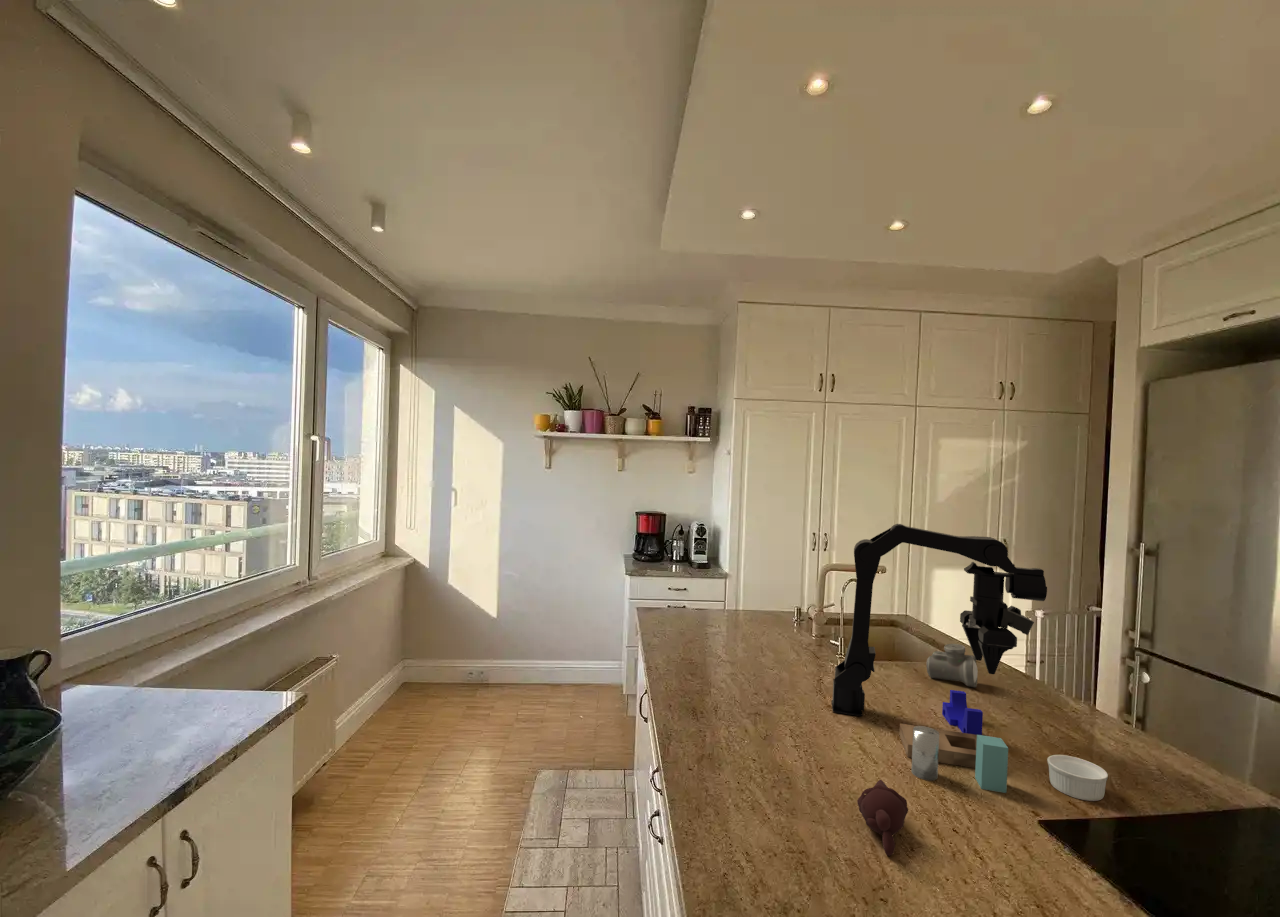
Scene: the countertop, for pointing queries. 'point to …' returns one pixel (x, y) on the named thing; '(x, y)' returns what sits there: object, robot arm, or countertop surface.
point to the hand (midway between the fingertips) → (984, 666)
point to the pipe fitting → (953, 665)
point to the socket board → (946, 746)
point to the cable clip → (962, 714)
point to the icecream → (883, 812)
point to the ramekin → (1077, 777)
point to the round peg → (925, 753)
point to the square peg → (991, 763)
